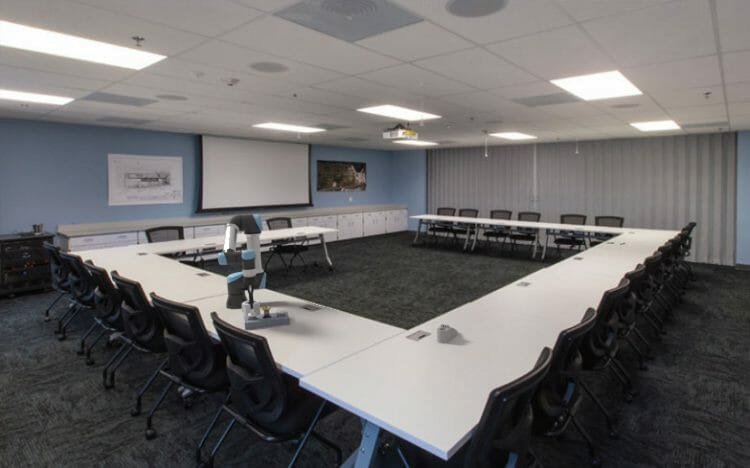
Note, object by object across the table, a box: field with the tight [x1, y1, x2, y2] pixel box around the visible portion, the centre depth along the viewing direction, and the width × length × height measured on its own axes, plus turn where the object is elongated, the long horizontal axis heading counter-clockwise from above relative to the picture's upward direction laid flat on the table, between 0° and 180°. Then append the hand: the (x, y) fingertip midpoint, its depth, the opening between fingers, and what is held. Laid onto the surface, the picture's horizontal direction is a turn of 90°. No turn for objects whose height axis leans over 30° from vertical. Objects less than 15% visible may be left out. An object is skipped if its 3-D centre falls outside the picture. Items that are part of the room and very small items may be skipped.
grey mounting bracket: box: [436, 323, 458, 344], centre depth 224 cm, size 6×18×8 cm, turn 147°
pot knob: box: [261, 305, 271, 318], centre depth 254 cm, size 5×5×6 cm
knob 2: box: [276, 309, 286, 317], centre depth 257 cm, size 5×5×6 cm
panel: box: [244, 311, 291, 331], centre depth 255 cm, size 14×26×4 cm, turn 106°
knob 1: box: [248, 313, 257, 320], centre depth 253 cm, size 5×5×6 cm
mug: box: [241, 299, 261, 319], centre depth 269 cm, size 14×11×10 cm
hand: (252, 313), depth 252 cm, fingers closed
